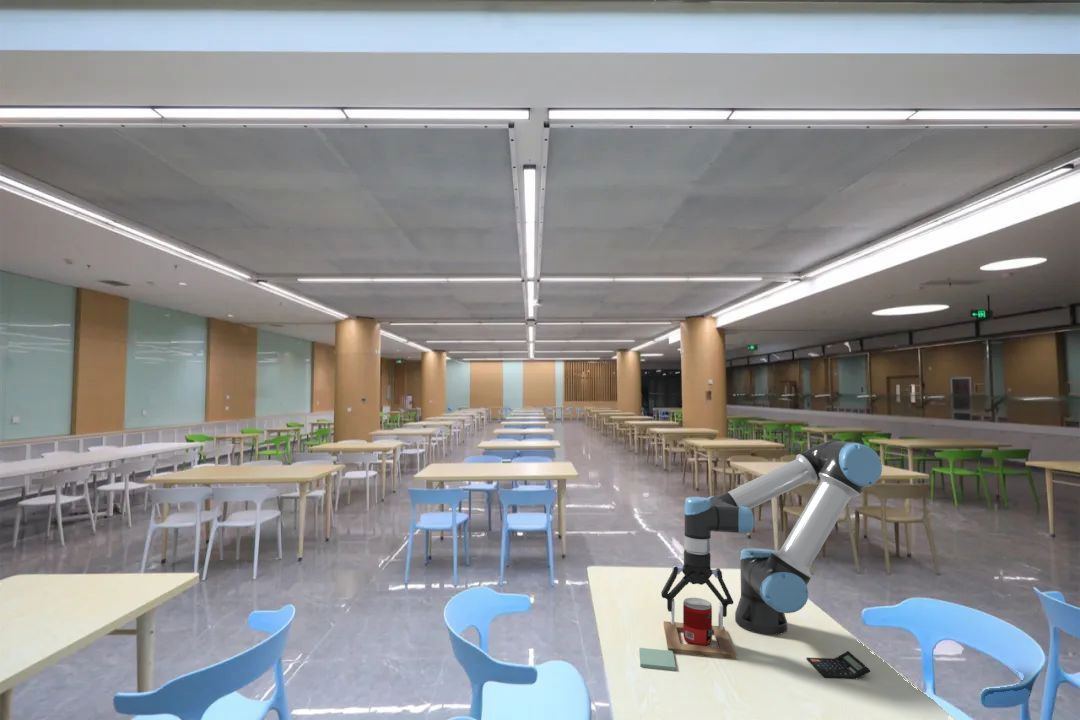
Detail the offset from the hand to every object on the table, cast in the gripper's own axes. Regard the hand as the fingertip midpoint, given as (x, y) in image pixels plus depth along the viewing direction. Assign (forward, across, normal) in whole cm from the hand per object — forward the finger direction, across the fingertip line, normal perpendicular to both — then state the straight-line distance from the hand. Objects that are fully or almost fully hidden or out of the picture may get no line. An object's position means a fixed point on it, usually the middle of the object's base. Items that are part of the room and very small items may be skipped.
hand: (696, 625), depth 151 cm
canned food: (+5, 0, 0) cm, 5 cm away
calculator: (+4, -35, +9) cm, 36 cm away
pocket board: (+4, 0, 0) cm, 4 cm away
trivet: (+5, +12, +14) cm, 19 cm away
